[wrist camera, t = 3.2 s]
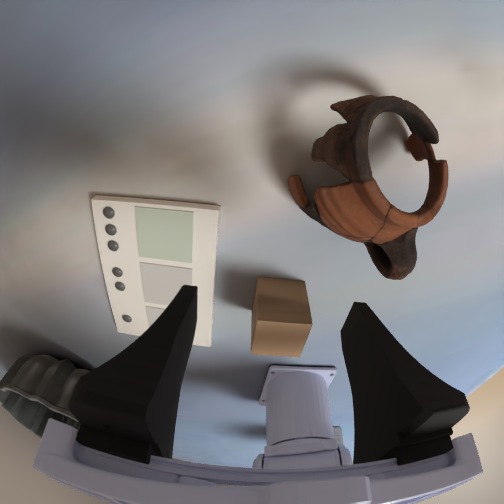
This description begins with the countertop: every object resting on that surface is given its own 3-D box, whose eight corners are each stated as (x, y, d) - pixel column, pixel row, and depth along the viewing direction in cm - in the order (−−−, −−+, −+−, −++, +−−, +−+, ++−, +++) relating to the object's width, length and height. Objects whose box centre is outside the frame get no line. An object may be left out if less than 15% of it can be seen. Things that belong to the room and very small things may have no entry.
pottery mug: (253, 148, 20) (303, 111, 12) (350, 102, 21) (420, 67, 13) (330, 292, 22) (401, 327, 14) (408, 229, 24) (483, 238, 16)
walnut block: (294, 314, 27) (299, 357, 23) (252, 310, 27) (250, 353, 23) (304, 280, 25) (312, 324, 21) (257, 276, 25) (257, 320, 21)
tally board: (211, 341, 30) (210, 347, 29) (120, 326, 29) (117, 332, 28) (220, 205, 21) (218, 211, 21) (95, 195, 21) (90, 199, 20)
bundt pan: (18, 305, 29) (-19, 362, 21) (185, 399, 38) (175, 462, 29) (16, 373, 41) (-2, 412, 32) (128, 434, 49) (119, 474, 41)
